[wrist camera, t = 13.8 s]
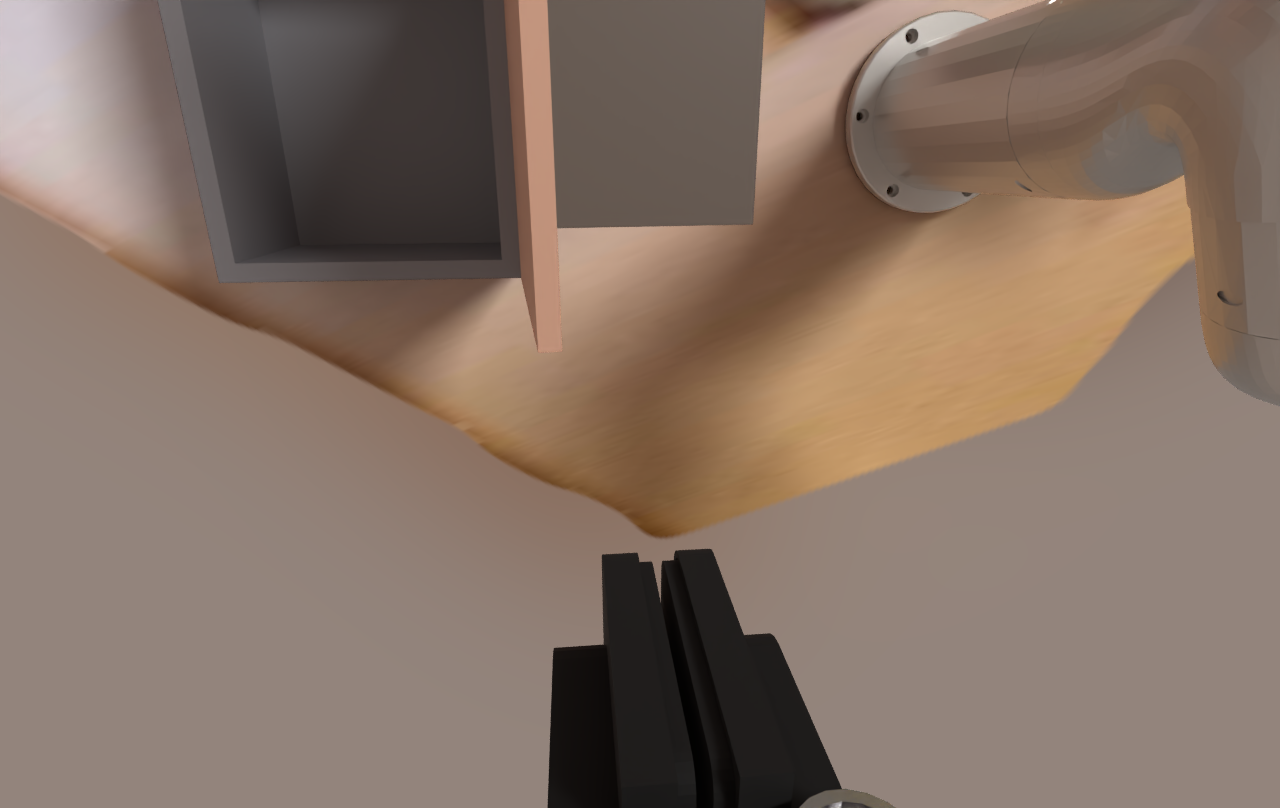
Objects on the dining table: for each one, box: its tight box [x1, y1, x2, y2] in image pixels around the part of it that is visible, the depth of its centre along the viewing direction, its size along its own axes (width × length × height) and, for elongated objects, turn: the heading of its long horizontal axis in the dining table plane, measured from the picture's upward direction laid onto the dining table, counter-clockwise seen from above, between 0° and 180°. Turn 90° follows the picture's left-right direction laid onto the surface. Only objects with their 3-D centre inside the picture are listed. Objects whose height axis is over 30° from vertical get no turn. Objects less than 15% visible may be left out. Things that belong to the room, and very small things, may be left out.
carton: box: [158, 0, 521, 283], centre depth 37 cm, size 16×22×10 cm
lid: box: [504, 0, 765, 353], centre depth 26 cm, size 16×22×7 cm
